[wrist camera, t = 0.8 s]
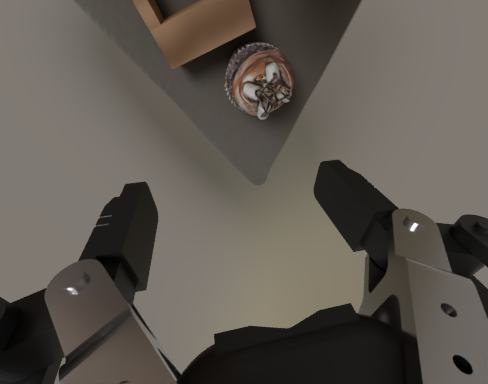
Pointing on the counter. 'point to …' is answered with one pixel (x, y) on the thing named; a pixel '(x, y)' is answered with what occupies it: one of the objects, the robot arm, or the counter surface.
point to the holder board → (196, 26)
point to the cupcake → (259, 79)
